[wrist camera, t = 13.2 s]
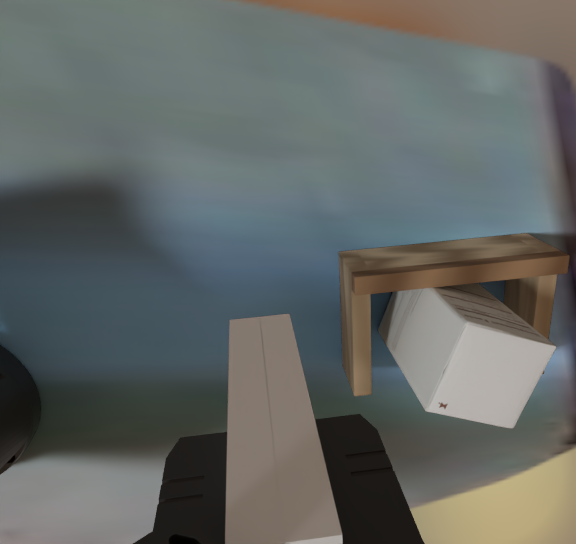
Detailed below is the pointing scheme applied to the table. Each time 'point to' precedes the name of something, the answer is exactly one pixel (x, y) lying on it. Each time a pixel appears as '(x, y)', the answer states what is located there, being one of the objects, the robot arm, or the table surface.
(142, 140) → the table surface
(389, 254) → the brown wooden frame
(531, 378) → the supplement box
